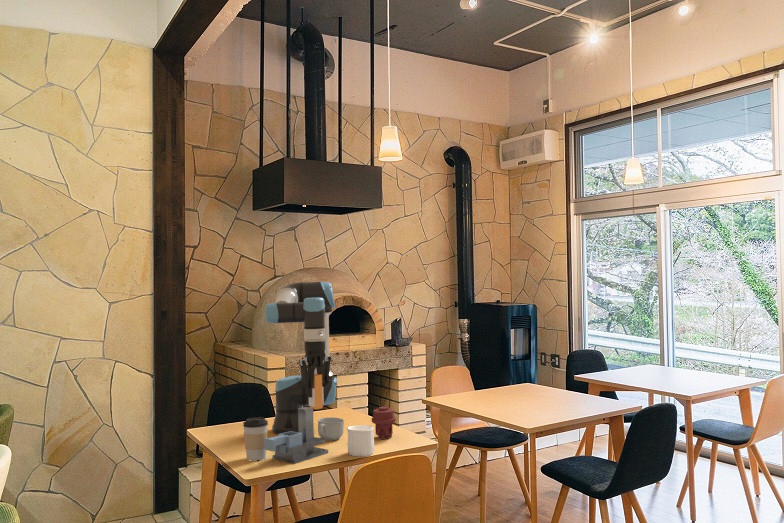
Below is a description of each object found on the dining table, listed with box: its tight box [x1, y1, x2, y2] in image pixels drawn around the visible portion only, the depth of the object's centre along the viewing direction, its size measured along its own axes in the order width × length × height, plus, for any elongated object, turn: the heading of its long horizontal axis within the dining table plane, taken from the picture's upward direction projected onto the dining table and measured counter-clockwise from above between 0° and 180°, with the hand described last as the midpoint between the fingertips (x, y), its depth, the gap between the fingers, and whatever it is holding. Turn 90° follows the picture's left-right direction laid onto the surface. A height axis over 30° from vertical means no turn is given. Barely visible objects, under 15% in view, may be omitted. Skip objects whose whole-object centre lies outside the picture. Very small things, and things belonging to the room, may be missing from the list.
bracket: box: [265, 431, 302, 454], centre depth 232 cm, size 6×13×6 cm, turn 141°
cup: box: [346, 424, 375, 457], centre depth 240 cm, size 10×10×10 cm
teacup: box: [317, 416, 345, 442], centre depth 262 cm, size 14×11×8 cm
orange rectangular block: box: [309, 374, 324, 410], centre depth 231 cm, size 3×3×12 cm
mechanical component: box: [371, 406, 397, 440], centre depth 263 cm, size 12×10×10 cm
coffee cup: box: [242, 416, 269, 462], centre depth 237 cm, size 9×9×15 cm
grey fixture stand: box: [272, 406, 329, 465], centre depth 239 cm, size 12×17×17 cm
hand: (316, 405), depth 231 cm, fingers closed on orange rectangular block, 3 cm apart
